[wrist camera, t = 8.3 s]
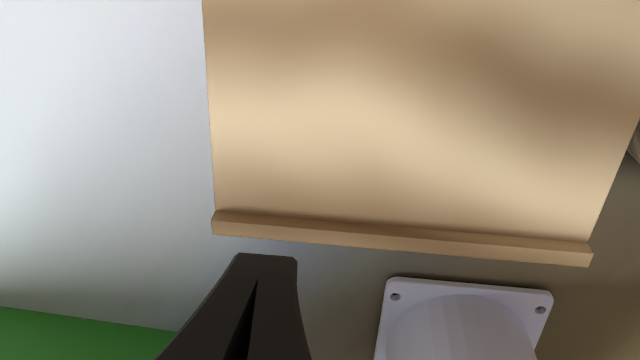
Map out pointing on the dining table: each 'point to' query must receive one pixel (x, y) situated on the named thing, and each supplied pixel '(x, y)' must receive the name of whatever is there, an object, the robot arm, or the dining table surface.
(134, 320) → the dining table surface
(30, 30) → the dining table surface
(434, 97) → the lid rest
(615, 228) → the dining table surface
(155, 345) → the hardback book
